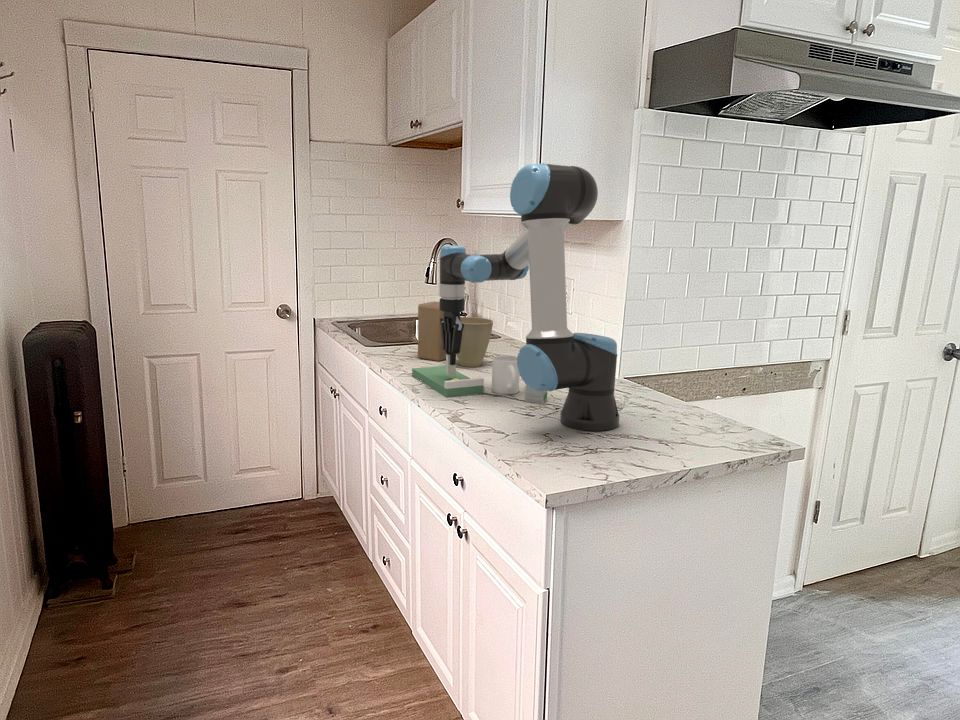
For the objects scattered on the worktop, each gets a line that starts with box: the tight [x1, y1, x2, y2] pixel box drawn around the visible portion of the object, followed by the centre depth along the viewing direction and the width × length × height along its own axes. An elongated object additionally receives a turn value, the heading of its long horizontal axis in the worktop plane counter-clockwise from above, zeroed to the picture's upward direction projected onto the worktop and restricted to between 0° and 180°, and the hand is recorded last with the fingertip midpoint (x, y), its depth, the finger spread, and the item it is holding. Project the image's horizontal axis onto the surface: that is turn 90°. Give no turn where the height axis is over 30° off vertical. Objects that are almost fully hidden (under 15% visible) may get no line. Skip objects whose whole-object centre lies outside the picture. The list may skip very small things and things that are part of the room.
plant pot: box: [456, 316, 494, 368], centre depth 242 cm, size 15×15×16 cm
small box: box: [523, 384, 548, 404], centre depth 201 cm, size 6×6×5 cm
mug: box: [491, 354, 521, 396], centre depth 207 cm, size 12×8×10 cm
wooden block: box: [417, 301, 446, 362], centre depth 252 cm, size 10×10×20 cm
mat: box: [411, 365, 485, 398], centre depth 216 cm, size 28×12×4 cm, turn 26°
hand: (450, 374), depth 213 cm, fingers closed
